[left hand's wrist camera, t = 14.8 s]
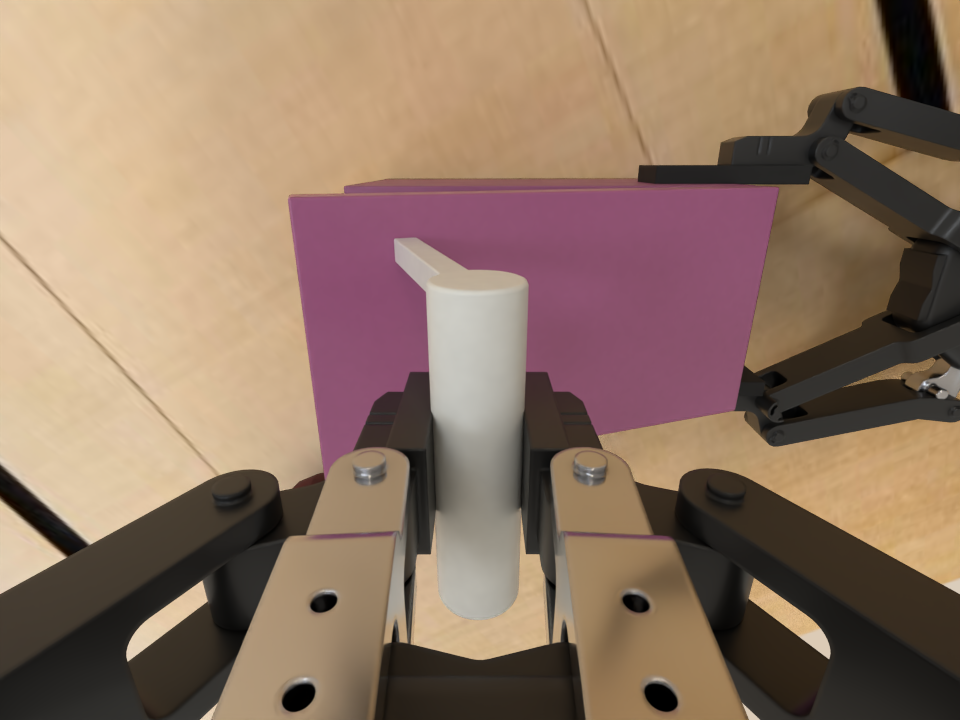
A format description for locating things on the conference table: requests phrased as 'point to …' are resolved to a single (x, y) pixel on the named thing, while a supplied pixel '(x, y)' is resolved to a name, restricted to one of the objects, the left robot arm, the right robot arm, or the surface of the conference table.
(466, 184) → the chest
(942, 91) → the conference table surface
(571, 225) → the lid
